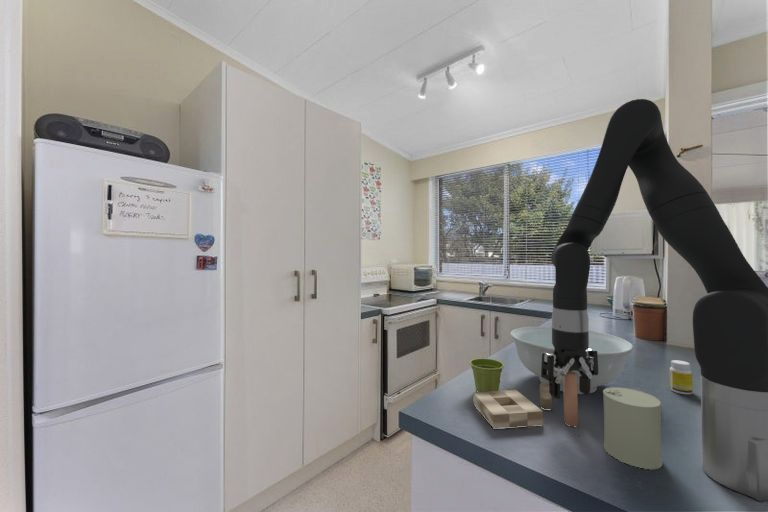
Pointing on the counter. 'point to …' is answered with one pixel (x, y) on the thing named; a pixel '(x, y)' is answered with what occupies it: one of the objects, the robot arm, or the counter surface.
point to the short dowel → (545, 396)
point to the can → (632, 427)
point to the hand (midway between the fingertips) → (570, 395)
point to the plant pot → (486, 374)
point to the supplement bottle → (680, 377)
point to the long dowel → (570, 399)
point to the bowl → (609, 368)
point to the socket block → (507, 409)
